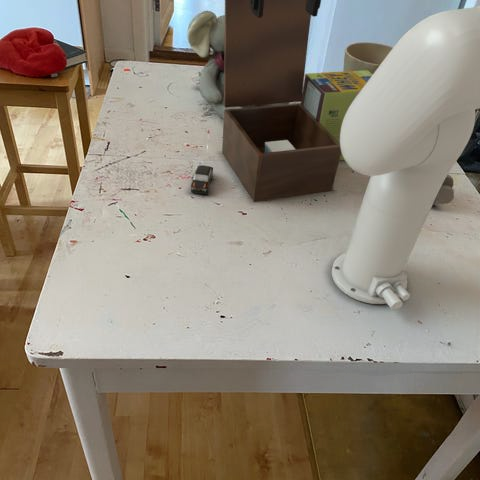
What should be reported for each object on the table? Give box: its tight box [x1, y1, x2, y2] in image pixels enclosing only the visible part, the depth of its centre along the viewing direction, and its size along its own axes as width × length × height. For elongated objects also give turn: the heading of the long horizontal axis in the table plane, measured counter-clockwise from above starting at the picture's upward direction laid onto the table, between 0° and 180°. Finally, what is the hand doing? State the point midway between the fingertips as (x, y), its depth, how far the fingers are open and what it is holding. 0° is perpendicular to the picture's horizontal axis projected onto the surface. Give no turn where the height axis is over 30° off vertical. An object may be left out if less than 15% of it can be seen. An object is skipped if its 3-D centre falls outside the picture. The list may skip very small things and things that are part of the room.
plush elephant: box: [186, 10, 290, 120], centre depth 116 cm, size 27×22×21 cm
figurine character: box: [431, 174, 455, 208], centre depth 96 cm, size 7×8×15 cm
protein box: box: [300, 71, 372, 162], centre depth 105 cm, size 10×15×16 cm
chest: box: [221, 102, 341, 203], centre depth 98 cm, size 20×18×10 cm
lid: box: [224, 0, 312, 107], centre depth 95 cm, size 20×18×5 cm
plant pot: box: [342, 41, 394, 75], centre depth 117 cm, size 15×15×16 cm
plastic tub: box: [264, 140, 295, 153], centre depth 99 cm, size 6×5×5 cm
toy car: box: [190, 129, 214, 195], centre depth 94 cm, size 4×12×8 cm, turn 172°
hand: (284, 14), depth 77 cm, fingers open, 9 cm apart
